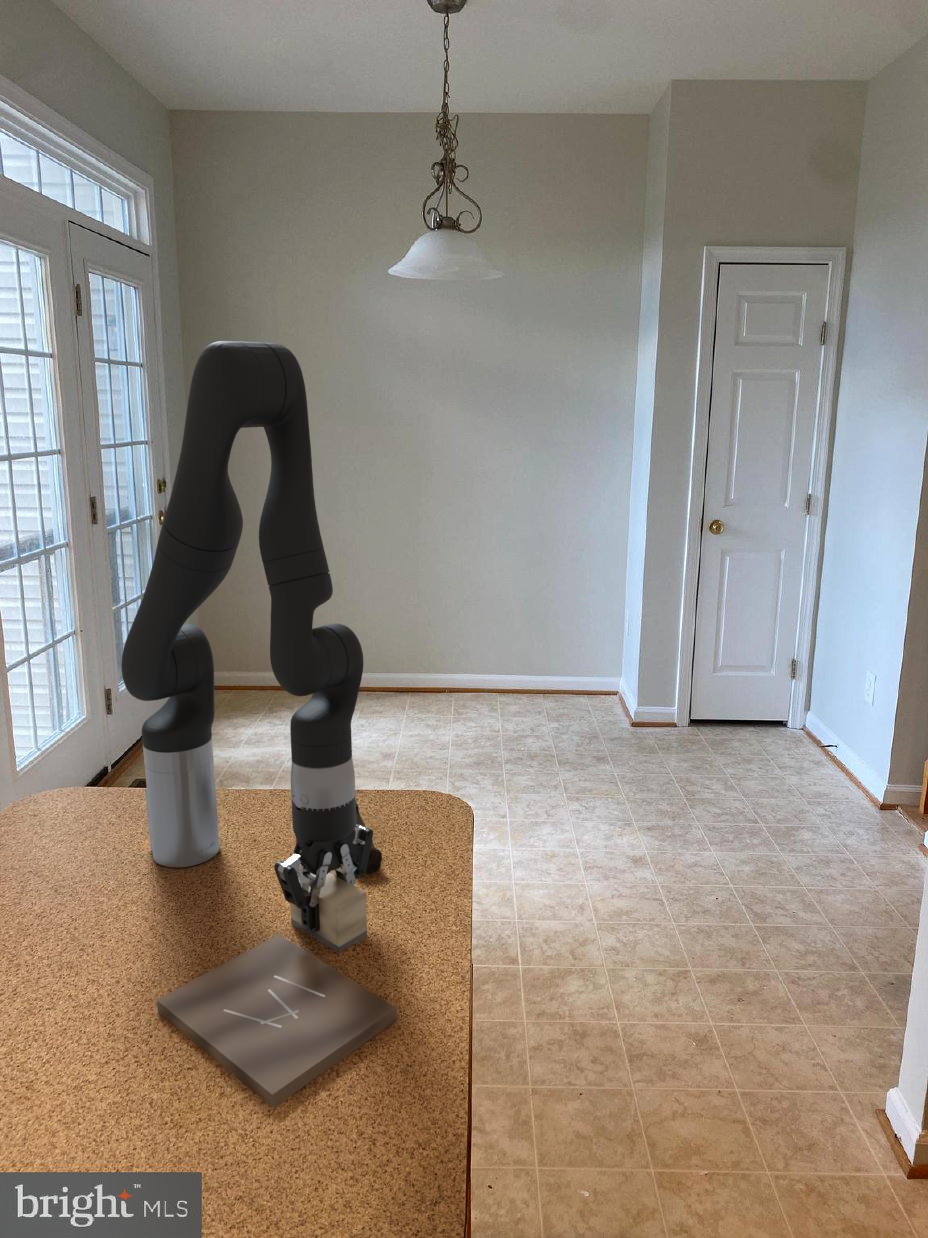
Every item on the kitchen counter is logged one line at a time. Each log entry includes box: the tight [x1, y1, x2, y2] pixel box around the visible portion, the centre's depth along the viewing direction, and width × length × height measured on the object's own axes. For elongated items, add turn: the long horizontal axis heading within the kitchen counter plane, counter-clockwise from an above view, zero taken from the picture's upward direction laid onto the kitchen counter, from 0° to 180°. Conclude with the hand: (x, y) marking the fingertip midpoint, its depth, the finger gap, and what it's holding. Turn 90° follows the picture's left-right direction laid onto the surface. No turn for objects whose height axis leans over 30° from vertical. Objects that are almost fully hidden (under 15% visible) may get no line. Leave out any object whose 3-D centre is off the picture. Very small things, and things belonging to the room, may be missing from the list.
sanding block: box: [289, 872, 368, 954], centre depth 110 cm, size 9×4×6 cm, turn 49°
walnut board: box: [156, 933, 398, 1109], centre depth 95 cm, size 20×16×2 cm
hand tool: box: [356, 801, 383, 875], centre depth 131 cm, size 19×4×5 cm, turn 15°
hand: (328, 919), depth 110 cm, fingers closed on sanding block, 4 cm apart
